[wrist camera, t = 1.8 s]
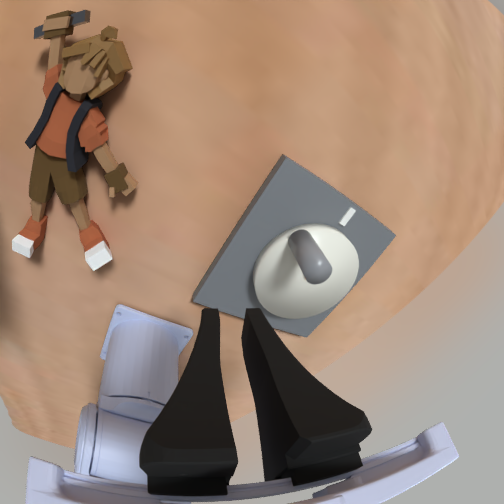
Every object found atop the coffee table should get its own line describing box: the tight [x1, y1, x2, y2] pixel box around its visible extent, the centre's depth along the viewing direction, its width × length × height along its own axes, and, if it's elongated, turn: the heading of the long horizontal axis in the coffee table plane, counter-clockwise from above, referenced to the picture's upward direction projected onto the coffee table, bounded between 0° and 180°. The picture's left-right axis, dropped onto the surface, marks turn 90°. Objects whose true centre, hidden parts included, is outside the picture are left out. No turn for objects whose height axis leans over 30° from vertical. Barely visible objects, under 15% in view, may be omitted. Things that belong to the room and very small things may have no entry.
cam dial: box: [253, 223, 359, 319], centre depth 22 cm, size 9×9×5 cm
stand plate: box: [193, 154, 396, 337], centre depth 24 cm, size 14×13×1 cm
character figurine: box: [12, 10, 138, 271], centre depth 14 cm, size 10×18×4 cm, turn 161°
